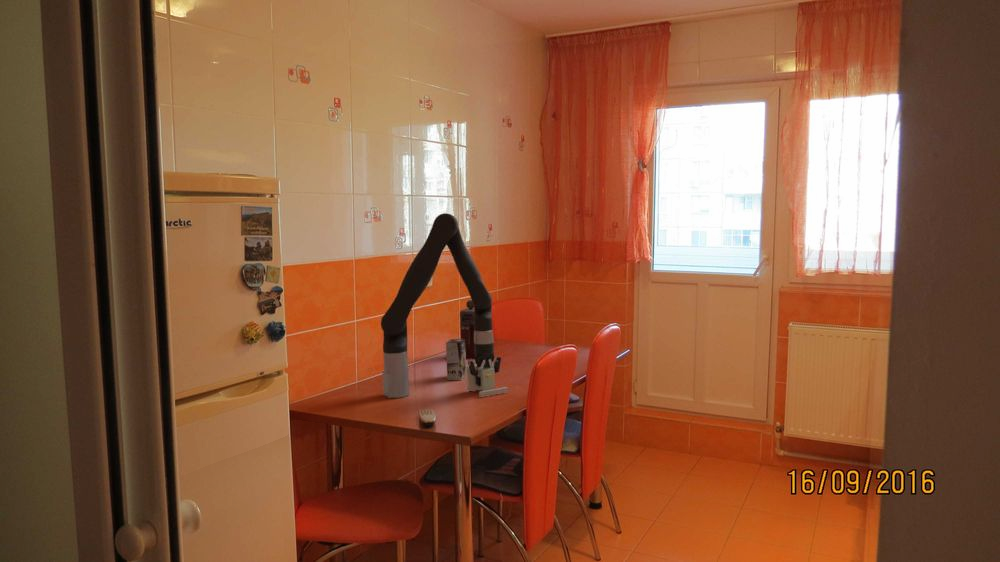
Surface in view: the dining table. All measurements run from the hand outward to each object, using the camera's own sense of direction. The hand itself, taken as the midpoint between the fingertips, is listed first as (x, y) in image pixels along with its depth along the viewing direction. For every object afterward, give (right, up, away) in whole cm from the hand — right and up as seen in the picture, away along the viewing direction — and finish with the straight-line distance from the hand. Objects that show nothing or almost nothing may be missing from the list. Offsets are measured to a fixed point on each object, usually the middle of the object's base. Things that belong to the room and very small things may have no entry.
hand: (485, 384), depth 271 cm
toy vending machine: (-8, +3, +69) cm, 70 cm away
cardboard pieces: (+1, -3, -1) cm, 3 cm away
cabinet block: (0, -1, 0) cm, 1 cm away
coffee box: (-13, -1, +26) cm, 29 cm away
